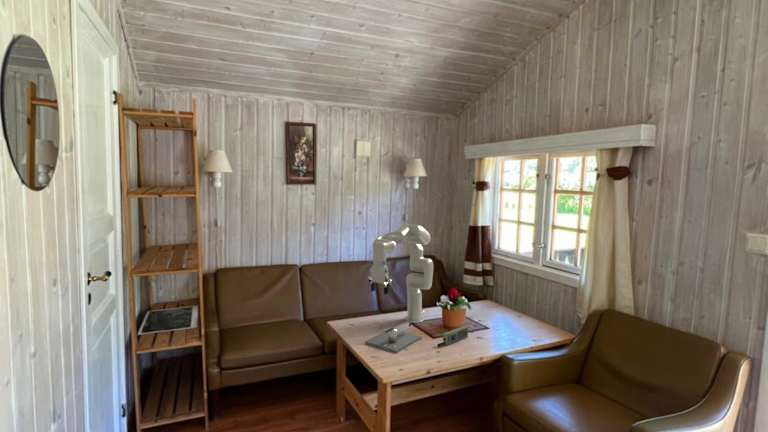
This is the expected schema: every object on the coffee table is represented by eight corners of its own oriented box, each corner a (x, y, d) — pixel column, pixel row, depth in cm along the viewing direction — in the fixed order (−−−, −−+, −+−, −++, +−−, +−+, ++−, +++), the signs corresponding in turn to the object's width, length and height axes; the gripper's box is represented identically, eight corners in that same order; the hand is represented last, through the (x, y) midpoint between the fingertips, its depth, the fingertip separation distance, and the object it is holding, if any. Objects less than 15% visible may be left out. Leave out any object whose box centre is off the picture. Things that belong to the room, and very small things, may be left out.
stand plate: (391, 330, 267) (391, 327, 267) (421, 338, 254) (421, 335, 254) (365, 343, 247) (365, 340, 247) (396, 353, 234) (396, 350, 233)
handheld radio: (468, 337, 257) (440, 348, 241) (464, 336, 259) (435, 346, 243) (468, 326, 256) (440, 336, 240) (464, 325, 259) (435, 335, 243)
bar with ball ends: (406, 330, 262) (406, 318, 261) (413, 332, 259) (413, 320, 258) (382, 343, 242) (382, 330, 242) (389, 345, 239) (389, 332, 239)
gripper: (395, 264, 243) (395, 293, 245) (372, 260, 254) (372, 288, 256) (387, 266, 237) (387, 296, 239) (363, 262, 248) (363, 291, 250)
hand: (379, 292), depth 247 cm, fingers open, 9 cm apart
